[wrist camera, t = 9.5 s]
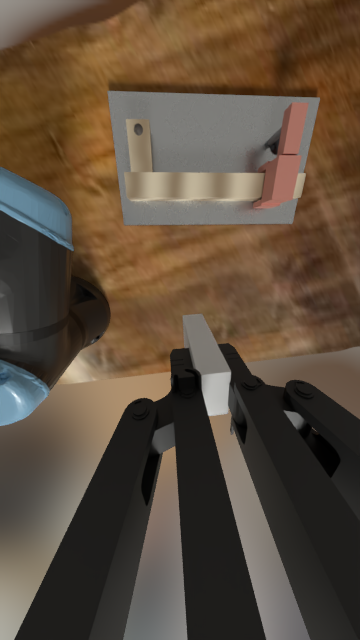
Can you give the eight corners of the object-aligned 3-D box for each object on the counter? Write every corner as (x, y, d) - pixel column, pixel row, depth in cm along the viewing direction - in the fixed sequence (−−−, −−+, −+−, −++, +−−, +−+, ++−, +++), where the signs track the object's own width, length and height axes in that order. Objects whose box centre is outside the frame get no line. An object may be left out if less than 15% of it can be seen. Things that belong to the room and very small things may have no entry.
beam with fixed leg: (130, 200, 30) (126, 197, 27) (123, 131, 26) (117, 118, 23) (288, 200, 31) (300, 197, 28) (302, 134, 27) (317, 123, 25)
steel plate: (125, 225, 32) (124, 224, 31) (109, 96, 25) (107, 90, 24) (288, 223, 33) (292, 223, 32) (314, 102, 27) (320, 97, 26)
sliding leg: (252, 208, 31) (271, 202, 25) (262, 130, 27) (288, 102, 21) (269, 208, 31) (291, 202, 25) (282, 131, 27) (312, 102, 21)
